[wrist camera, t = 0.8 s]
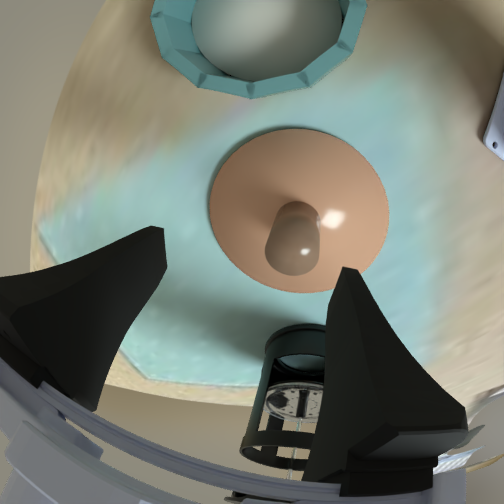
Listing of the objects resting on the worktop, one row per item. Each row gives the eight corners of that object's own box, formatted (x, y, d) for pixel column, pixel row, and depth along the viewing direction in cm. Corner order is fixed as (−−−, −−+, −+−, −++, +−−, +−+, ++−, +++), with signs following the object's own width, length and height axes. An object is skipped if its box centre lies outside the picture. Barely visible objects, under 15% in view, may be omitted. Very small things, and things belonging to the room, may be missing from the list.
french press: (245, 351, 30) (176, 547, 11) (293, 305, 24) (222, 581, 6) (326, 388, 31) (294, 562, 12) (382, 354, 26) (369, 572, 7)
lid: (416, 172, 16) (441, 199, 12) (341, 304, 24) (341, 347, 20) (234, 104, 17) (207, 111, 13) (201, 256, 24) (178, 292, 20)
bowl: (371, -23, 9) (382, -47, 6) (326, 116, 15) (328, 123, 12) (207, -51, 9) (182, -72, 6) (169, 77, 16) (136, 79, 13)
